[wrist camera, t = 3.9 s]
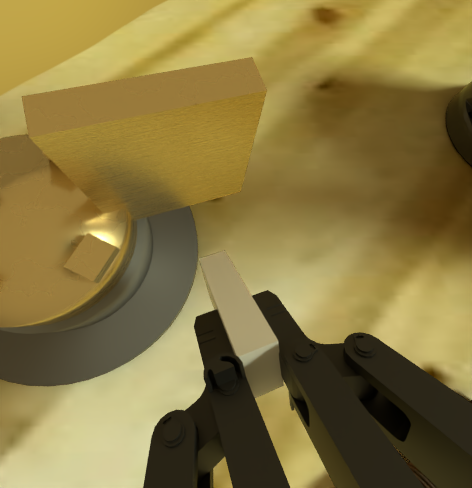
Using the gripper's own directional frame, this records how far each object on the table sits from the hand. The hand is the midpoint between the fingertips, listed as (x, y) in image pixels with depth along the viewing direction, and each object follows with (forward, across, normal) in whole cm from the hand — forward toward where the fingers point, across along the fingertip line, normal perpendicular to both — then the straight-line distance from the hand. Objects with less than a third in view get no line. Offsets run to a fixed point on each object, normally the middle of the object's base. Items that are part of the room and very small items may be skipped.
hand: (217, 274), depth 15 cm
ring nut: (+9, -6, +2) cm, 11 cm away
